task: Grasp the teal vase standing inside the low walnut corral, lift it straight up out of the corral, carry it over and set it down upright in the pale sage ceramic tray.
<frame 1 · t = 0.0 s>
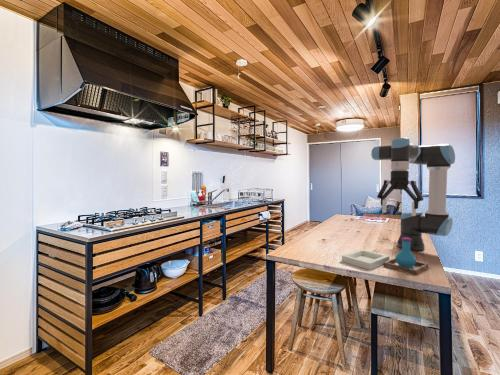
hand: (398, 214, 128), 28 cm above the table, fingers open, 13 cm apart
teal vase: (405, 267, 133), resting in corral
tray: (365, 261, 142), on the table
corral: (405, 267, 133), on the table
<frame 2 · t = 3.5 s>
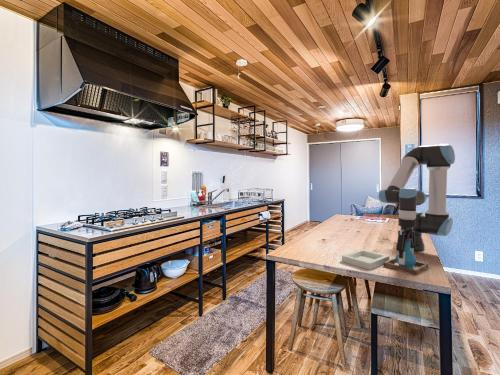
hand: (405, 262, 133), 3 cm above the table, fingers closed on teal vase, 9 cm apart
teal vase: (405, 267, 133), resting in corral, touching gripper
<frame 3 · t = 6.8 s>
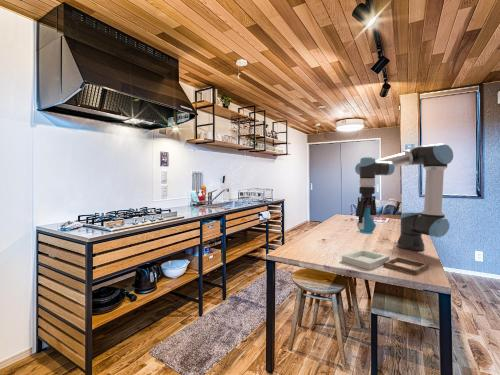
hand: (366, 227, 141), 18 cm above the table, fingers closed on teal vase, 9 cm apart
teal vase: (366, 232, 141), point 16 cm above the table, touching gripper
when the fingers open (4 cm above the table, at t = 10.1 s): teal vase drops 1 cm, resting on tray.
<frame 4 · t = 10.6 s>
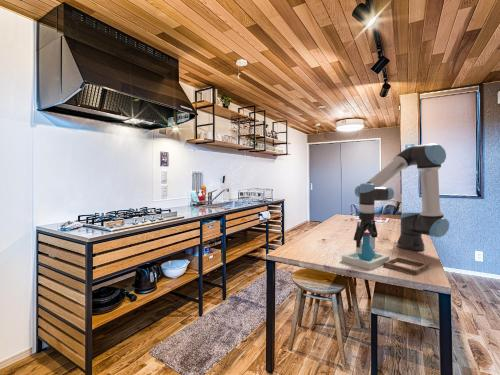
hand: (365, 251, 142), 6 cm above the table, fingers open, 13 cm apart
teal vase: (365, 260, 142), resting on tray
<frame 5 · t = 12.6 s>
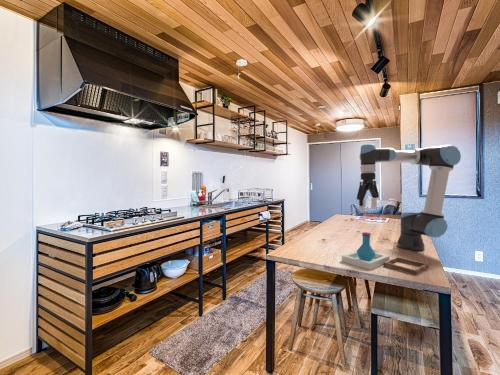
hand: (368, 210, 147), 27 cm above the table, fingers open, 13 cm apart
nothing on the table moved.
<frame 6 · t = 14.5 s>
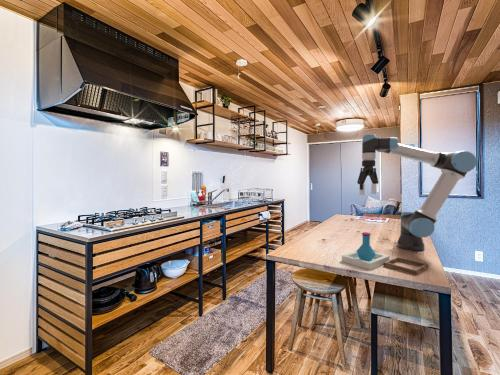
hand: (367, 194, 162), 35 cm above the table, fingers open, 13 cm apart
nothing on the table moved.
at the end: teal vase inside the target area on the tray (0.1 cm from its centre), point 0.4 cm above the tray's base; teal vase tilted 0°; teal vase touching tray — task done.
